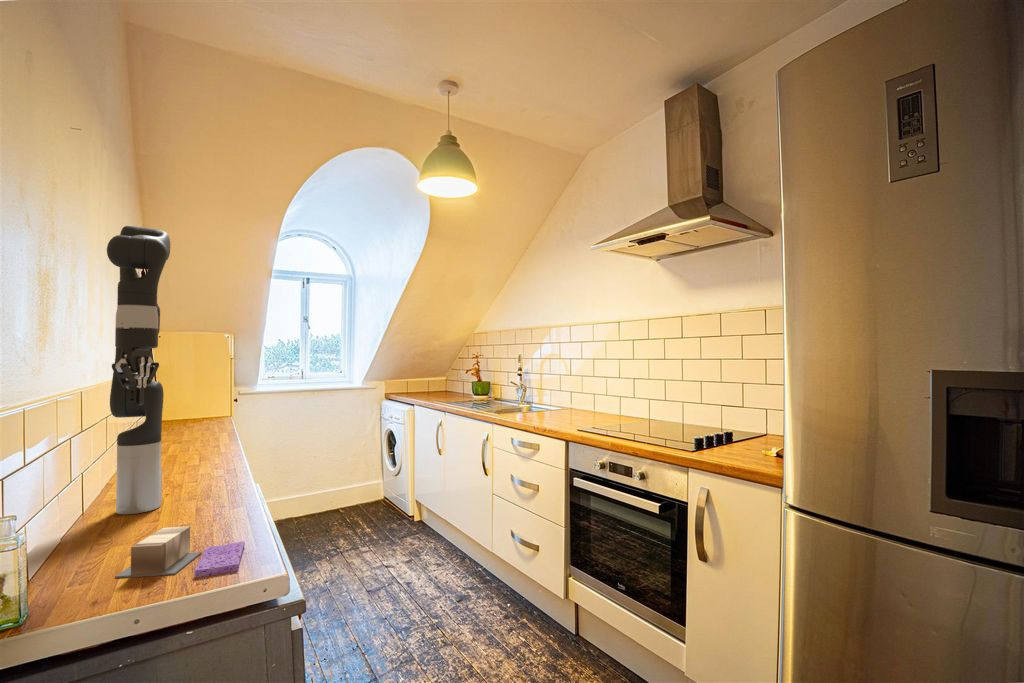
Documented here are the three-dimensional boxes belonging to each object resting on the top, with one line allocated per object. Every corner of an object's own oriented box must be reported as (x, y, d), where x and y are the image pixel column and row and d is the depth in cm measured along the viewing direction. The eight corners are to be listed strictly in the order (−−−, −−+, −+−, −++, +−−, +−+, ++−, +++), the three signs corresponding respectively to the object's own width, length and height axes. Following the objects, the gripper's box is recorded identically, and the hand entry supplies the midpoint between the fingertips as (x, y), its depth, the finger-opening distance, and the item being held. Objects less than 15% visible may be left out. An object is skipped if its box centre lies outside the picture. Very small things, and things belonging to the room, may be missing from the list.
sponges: (194, 580, 87) (194, 570, 88) (205, 555, 99) (205, 545, 99) (238, 573, 90) (238, 563, 90) (244, 549, 102) (245, 540, 102)
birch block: (163, 527, 98) (131, 547, 88) (190, 526, 99) (161, 545, 89) (163, 552, 98) (130, 575, 88) (189, 551, 99) (160, 573, 89)
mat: (147, 556, 97) (147, 554, 97) (201, 553, 98) (201, 552, 98) (115, 577, 88) (115, 576, 88) (175, 574, 89) (175, 572, 89)
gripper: (137, 328, 114) (136, 402, 114) (97, 325, 101) (95, 409, 101) (172, 328, 115) (171, 402, 115) (136, 325, 102) (135, 408, 102)
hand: (136, 405), depth 108 cm, fingers closed
